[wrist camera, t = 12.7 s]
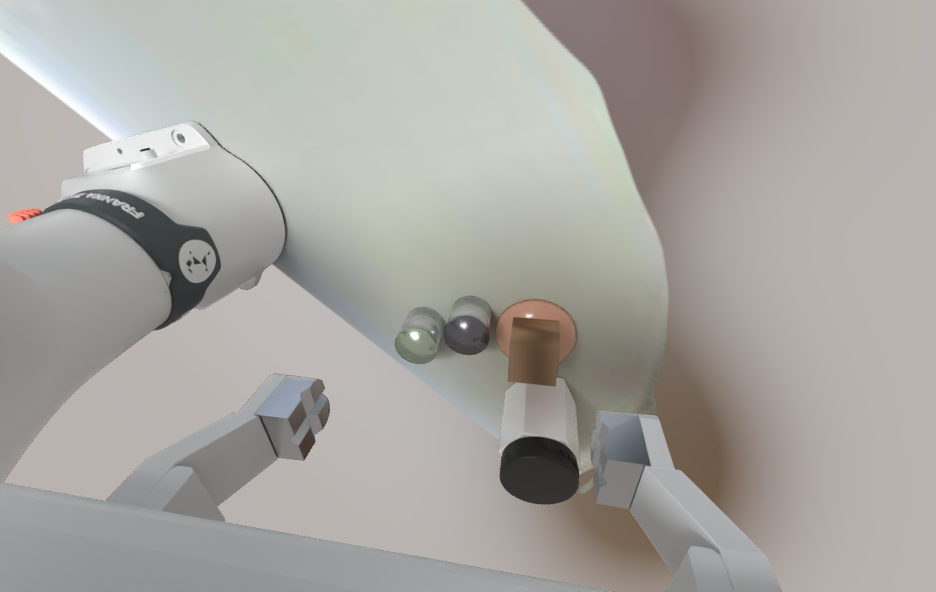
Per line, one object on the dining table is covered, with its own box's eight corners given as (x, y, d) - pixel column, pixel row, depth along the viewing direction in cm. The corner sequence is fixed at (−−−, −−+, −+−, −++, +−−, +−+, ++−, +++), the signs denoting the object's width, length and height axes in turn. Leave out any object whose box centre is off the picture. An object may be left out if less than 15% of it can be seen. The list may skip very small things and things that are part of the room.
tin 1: (408, 337, 49) (397, 361, 45) (404, 305, 47) (392, 328, 43) (446, 340, 48) (438, 365, 45) (444, 308, 46) (435, 331, 42)
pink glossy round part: (495, 358, 49) (494, 363, 48) (497, 296, 44) (496, 300, 43) (570, 365, 47) (571, 370, 46) (580, 302, 42) (581, 306, 42)
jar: (582, 414, 51) (591, 503, 41) (523, 425, 54) (518, 510, 44) (559, 363, 47) (562, 448, 37) (497, 378, 50) (485, 460, 40)
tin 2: (452, 328, 47) (444, 353, 43) (450, 293, 45) (442, 317, 41) (492, 331, 46) (488, 356, 43) (493, 296, 44) (489, 320, 40)
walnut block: (511, 351, 46) (508, 381, 42) (513, 316, 44) (509, 345, 40) (554, 355, 46) (555, 386, 42) (559, 320, 43) (560, 349, 39)
